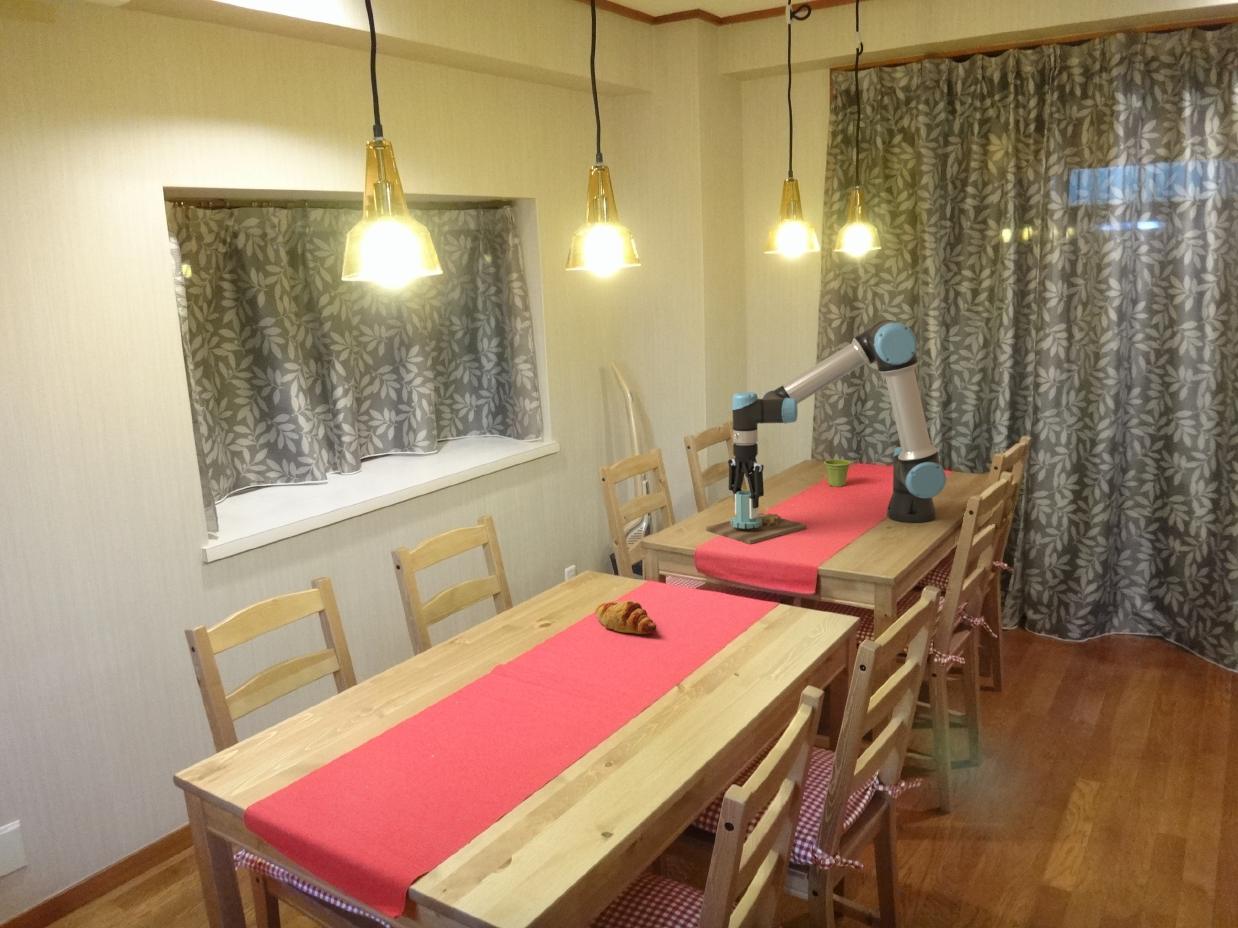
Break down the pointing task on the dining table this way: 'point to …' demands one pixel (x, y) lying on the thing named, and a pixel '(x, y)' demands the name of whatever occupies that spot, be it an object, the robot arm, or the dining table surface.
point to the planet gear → (744, 512)
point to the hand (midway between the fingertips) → (746, 515)
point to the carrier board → (758, 529)
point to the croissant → (625, 617)
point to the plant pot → (837, 472)
